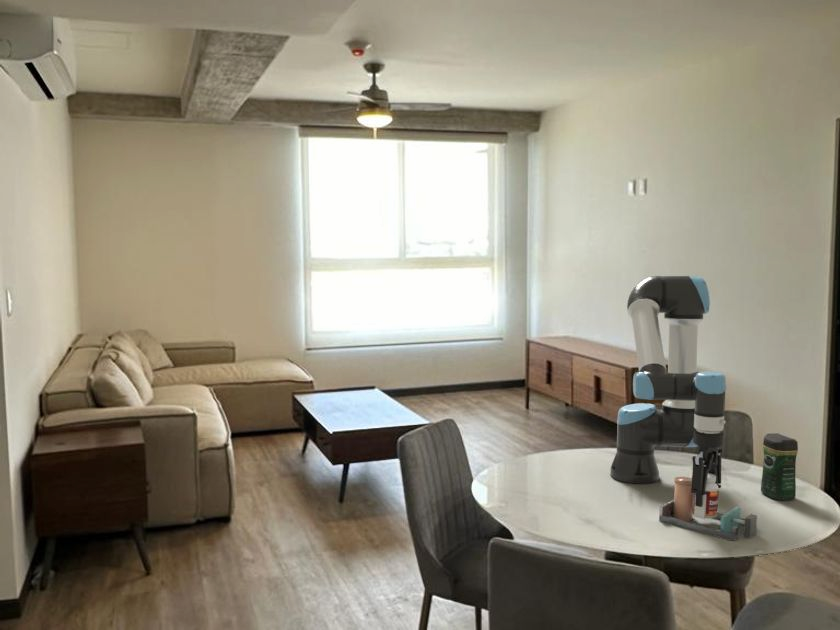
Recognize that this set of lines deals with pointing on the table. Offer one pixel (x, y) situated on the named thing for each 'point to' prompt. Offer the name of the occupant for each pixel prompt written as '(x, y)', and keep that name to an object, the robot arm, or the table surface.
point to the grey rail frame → (668, 511)
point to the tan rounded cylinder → (683, 499)
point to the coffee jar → (779, 466)
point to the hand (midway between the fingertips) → (705, 514)
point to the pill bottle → (710, 497)
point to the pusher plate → (734, 520)
